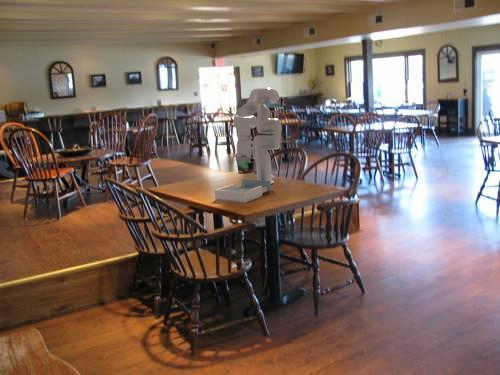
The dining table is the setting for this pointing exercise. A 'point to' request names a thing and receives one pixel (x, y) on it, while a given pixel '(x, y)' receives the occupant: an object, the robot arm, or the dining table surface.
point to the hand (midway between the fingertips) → (246, 168)
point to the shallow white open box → (237, 194)
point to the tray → (252, 185)
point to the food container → (243, 165)
